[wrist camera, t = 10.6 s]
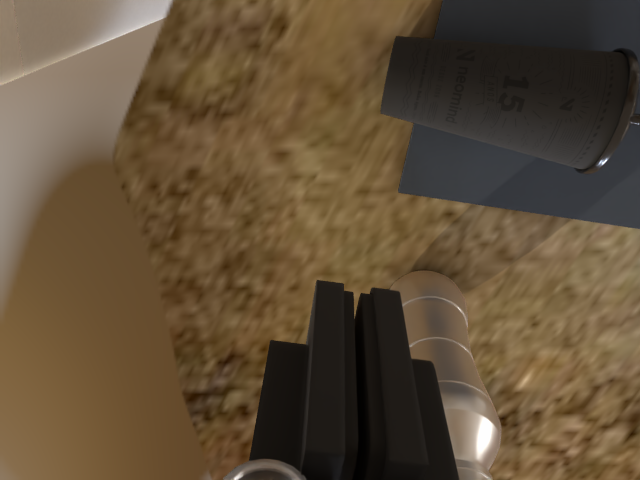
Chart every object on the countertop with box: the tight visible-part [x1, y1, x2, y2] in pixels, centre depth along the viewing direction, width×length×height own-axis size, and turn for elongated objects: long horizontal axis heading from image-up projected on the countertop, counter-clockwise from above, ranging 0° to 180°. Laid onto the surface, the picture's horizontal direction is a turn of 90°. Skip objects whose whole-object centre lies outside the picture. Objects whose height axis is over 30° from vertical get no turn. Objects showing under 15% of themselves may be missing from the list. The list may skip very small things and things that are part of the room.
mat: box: [398, 0, 640, 229], centre depth 35 cm, size 20×20×1 cm
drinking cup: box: [381, 36, 640, 175], centre depth 33 cm, size 8×8×20 cm
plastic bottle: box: [389, 270, 501, 480], centre depth 36 cm, size 6×7×20 cm
